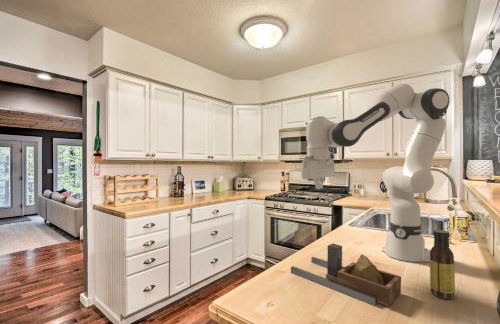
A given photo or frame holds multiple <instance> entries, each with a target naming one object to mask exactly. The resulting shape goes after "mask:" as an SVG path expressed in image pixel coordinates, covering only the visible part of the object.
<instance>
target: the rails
mask: <svg viewBox="0 0 500 324" xmlns="http://www.w3.org/2000/svg"><path fill="white" fill-rule="evenodd" d="M310 259H311V264H316V265H319V266H320V267H321V266H322V267H324V268H327V262H328V260H325V259H322V258H319V257H315V256H311V258H310ZM344 267H345V265H342V269H343V268H344ZM290 273H292V274H294V275H297V276H299V277H302V278H304V279H307V280H309V281H312V282H314V283H316V284H320V285H322V286H325V287H326V288H329V289H332V290H335V291H337V292H340V293H342V294H344V295H347V296H350V297H352V298H355V299H357V300H360V301H362V302H365V303H367V304H370V305H372V306H377V304H378V302H377V297H375V296H372V295H369V294H367V293H364V292H361V291H359V290H356V289H353V288H351V287H348V286H345V285H343V284H340V283H337V282H336V281H333V280H331V279H328V278H326V277H323V276H321V275H318V274H316V273H312V272H311V271H308V270H305V269H302V268H300V267H297V266H294V265H292V266H291V267H290Z"/></svg>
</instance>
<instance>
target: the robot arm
mask: <svg viewBox="0 0 500 324" xmlns="http://www.w3.org/2000/svg"><path fill="white" fill-rule="evenodd" d="M449 105H450V95H449V93H448V92H447V91H446V90H445V89H443V88H438V87H437V88H429V89H426V90H421V91H418V92H415V90H414V88H413V87H412V86H411V85H410V84H408V83H404V82H402V83H398V84H395V85H393V86H391V87H389V88H387V89H385V90H383V91H382V92H380V93H379V94H376V96H375V97H373V98H372V99H371V100H370V101H369V102H368V104H367V110H365V111H364V112H363V113H360V114H359V116H356V117H355V118H352V119H345V120H342V121H340V122H338V123H336V122H333V121H332V120H329V119H328V118H327V117H326V116H317V117H314V118H311V119H309V120H308V121H307V123H306V129H305V130H306V131H305V132H306V133H305V136H306V138H305V139H306V142H307V147H306V156H304V158H303V159H302V164H301V178H302V180H313V183H314V185H315V189H316V190H321V189H323V188H324V182H325V178H330V177H334V175H335V162H334V160H335V154H334V153H332V152H331V151H329V147H331V148H341V147H343V148H344V147H345V148H347V147H349V148H350V147H352V146H355V145H356V144H357V143H358V142H359V140H360V139H361V137H362V136H363V135H364V133H365V132H367V131H368V130H370V129H371V128H372V127H374V126H375V125H376V124H378V123H379V122H383V121H386V120H389V119H390V118H392V117H394V116H395V115H399V116H400V118H401V117H402V118H403V119H405V120H414V119H415V121H416V122H415V126H414V129H413V130H412V133H411V134H410V136H409V138H408V141H407V143H406V145H405V146H404V149H403V154H404V155H405V158H404V162H403V163H404V164H403V165H402V166H400V165H395V166H390V167H388V168H386V169H385V170H384V171H383V172H382V175H381V176H382V178H381V179H382V182H383V184H384V185H385V187H386V192H387V195H388V198H389V203H390V204H389V205H390V206H389V207H390V221H389V222H388V223H389V225H388V227H389V228H388V230H389V231H388V232H386V233H385V240H384V247H381V250H380V251H382V252H384V253H385V254H386V255H387V256H389V257H391V258H394V259H396V260H398V261H400V260H401V261H405V262H411V263H420V262H422V263H423V262H424V263H425V262H426V263H430V250H431V249H429V248H427V247H426V244H425V243H426V241H425V237H424V236H423V234H422V230H423V228H422V223H421V207H420V204H419V202H418V201H417V199H416V197H415V195H417V194H425V193H428V192H429V191H430V190H432V188H433V186H434V184H435V179H434V175H433V174H432V161H433V159H434V156H435V154H436V151H437V149H438V147H439V145H440V143H441V141H442V138H443V136H444V133H445V129H446V126H447V121H446V120H445V118H444V116H445V115H446V113H447V110H448V109H449Z"/></svg>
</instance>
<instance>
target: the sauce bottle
mask: <svg viewBox="0 0 500 324" xmlns="http://www.w3.org/2000/svg"><path fill="white" fill-rule="evenodd" d="M432 233H433V239H434V241H433V245H432V247H431V248H430V249H429V250H430V262H429V286H430V292H431V294H432V295H433V296H435V297H437V298H439V299H442V300H443V299H444V300H452V299H454V298H455V292H456V286H455V285H456V282H455V281H456V280H455V279H456V276H455V273H456V272H455V271H456V270H455V256H454V252H453V251H452V249H451V248H450V241H449V239H450V232H449V231H447V230H445V229H444V230H443V229H434V230H433V232H432Z"/></svg>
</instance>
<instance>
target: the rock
mask: <svg viewBox="0 0 500 324" xmlns="http://www.w3.org/2000/svg"><path fill="white" fill-rule="evenodd" d="M355 263H356V264H355V267H354V269H353V271H352V272H351V275H354V276H357V277H360V278H363V279H366V280H369V281H371V282H374V283H377V284H380V285H383V286H386V284H385V282H384V280H383V277H382V275H381V274H380V272H379V271H378V270H379V269H378V268H377V266H376V265H375V264H374V263H373V262H372V261H371V260H370V259H369V257H367V256H366V255H365V254H360V255H359V258H358V259H357V261H356V262H355Z"/></svg>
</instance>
